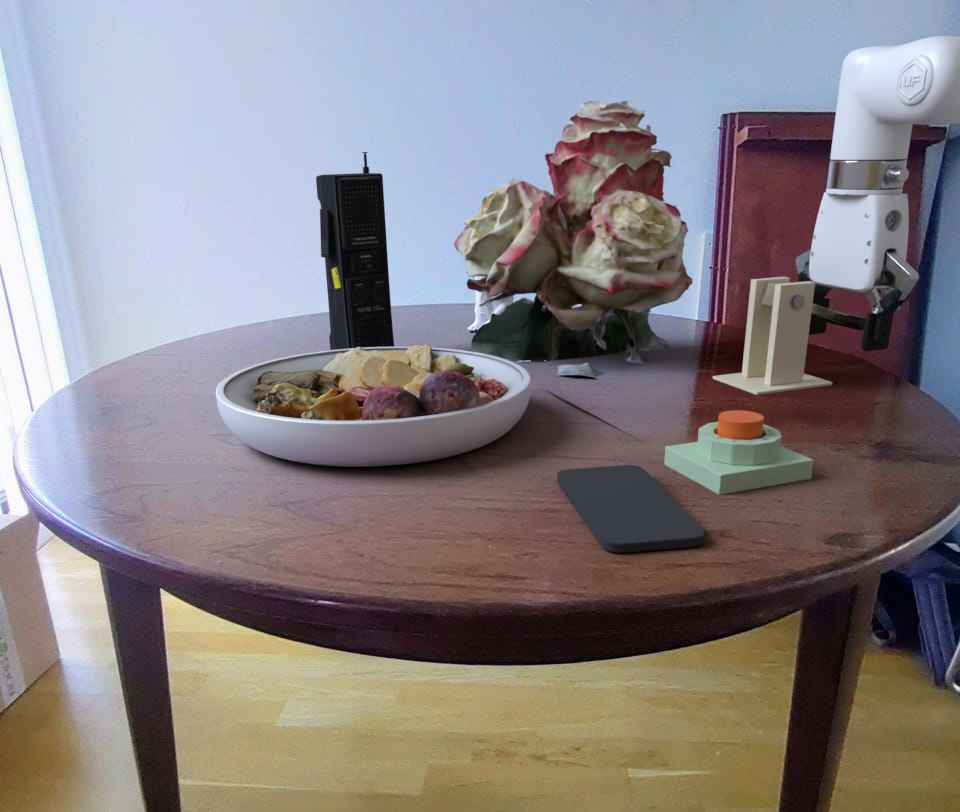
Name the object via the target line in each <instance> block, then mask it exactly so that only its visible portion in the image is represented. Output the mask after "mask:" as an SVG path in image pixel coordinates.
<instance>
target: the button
mask: <svg viewBox="0 0 960 812" xmlns="http://www.w3.org/2000/svg"><path fill="white" fill-rule="evenodd" d="M717 422H718V429H717V435H719V436H721V437H724V438H729V439H735V440H753V439H760V438H762V433H763V424H764V425H765V416H764V415H763V414H761V413H759V412H755V411H751V410H743V409H741V410H740V409H739V410H738V409H734V410H726V411H722V412H720V413H719V414H718V420H717Z"/></svg>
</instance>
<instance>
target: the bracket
mask: <svg viewBox="0 0 960 812" xmlns="http://www.w3.org/2000/svg"><path fill="white" fill-rule="evenodd" d="M790 279H791V277H788V276H776V277H775V276H774V277H763V278H762V277H761V278H751V279H750V285H749V294H748V295H749V296H748V306H747V315H746V316H747V317H746V327H745V336H744V337H745V338H744V347H743V355H742V358H743V359H742V367H741V372H736V373H735V372H733V373H726V374H719V375H713V376H712V380H715V381H718V382H720V383H723V384H726V385H728V386H731V387H734V388H736V389H738V390H742V391H745V392H748V393H750V394H753V395H756V396H761V395H768V394H775V393H782V392H783V393H784V392H790V391H799V390H806V389H812V388H819V387H820V388H822V387H828V386H833V381H830V380H828V379H823V378H821V377H816V376H814V375H811V374H807V373H805V367H806V358H807V352H808V342H809V336H810V335H809V328H810V320H811V312H812V304H813V296H814V288H815V282H810V281H806V282H798V281H795V282H790V281H791V280H790ZM768 283H775V290H774V299H773V308H770V307H767V306H764V305H761V302H762V300H763V297H764V294H765V291H766V289H767V286H768Z"/></svg>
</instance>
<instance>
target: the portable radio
mask: <svg viewBox="0 0 960 812" xmlns="http://www.w3.org/2000/svg"><path fill="white" fill-rule="evenodd" d="M361 153H362V154H363V162H364V163H363V164H364V165H363V166H362V172H360V173H357V172H356V173H332V174H331V173H330V174H319V175H317V176H315V183H316V184H315V185H316V195H317V197H316V198H317V200H318V201H319V204H320V209H319V226H320V227H319V228H320V257H321V258H324V264H325V276H326V290H327V301H328V314H329V316H328V317H329V328H330V329H329V330H330V333H329V337H328V339H329V350H338V349H350V348H357V347H362V348H365V347H395V340H394V339H395V338H394V328H393V327H394V326H393V315H392V303H391V289H390V288H391V287H390V274H389V258H388V243H387V241H388V240H387V227H386V212H385V211H386V210H385V194H384V177H383V176H384V175H383V173H381V172H380V173H379V172H374V173H373V172H370V167H369V166H368V157H367V154H368V153H369V151H362V152H361Z"/></svg>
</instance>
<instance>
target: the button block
mask: <svg viewBox="0 0 960 812" xmlns="http://www.w3.org/2000/svg"><path fill="white" fill-rule="evenodd" d="M717 429H718V421H714V422H708V423H706V424H704V425H702V426H701V427H699V428H698V431H697V432H698V434H697V441H693V442H687V443H680V444H673V445H666V446H665V448H664V462H663V463H664V466H666V467H668V468H670V469H671V470H674V471H675V472H677V473H679V474H680V475H682V476H684V477H686V478H687V479H690V480H691V481H693V482H696V483H697V484H699V485H701V486H703V488H706V489H708V490H710V491H711V492H713V493H716V495H725V494H726V495H727V494H732V493H737V492H742V491H749V490H755V489H759V488H766V487H772V486H778V485H784V484H789V483H795V482H800V481H806V480H811V479H812V474H813V468H814V459H812V458H810V457H808V456H806V455H803V454H800V453H799V452H797V451H793V450H792V449H789V448H787V447H784V446H782V440H783V436H782V434H781V432H780V431H779V429H777V428H775V427H772V426H769V425H767V424H765V423H764V424H763V433H762V438H760V439H753V440H735V439H729V438H724V437H721V436H719V435H717Z"/></svg>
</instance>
